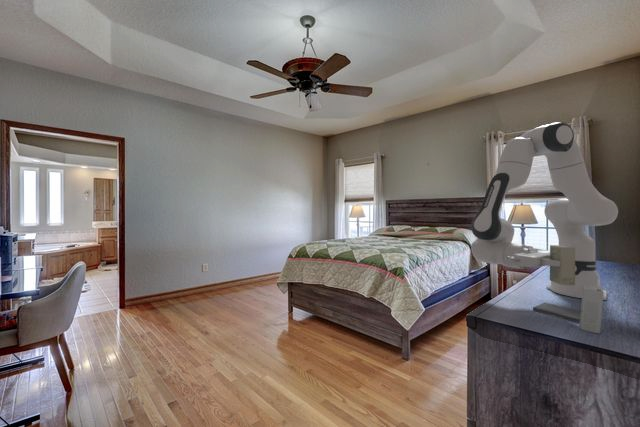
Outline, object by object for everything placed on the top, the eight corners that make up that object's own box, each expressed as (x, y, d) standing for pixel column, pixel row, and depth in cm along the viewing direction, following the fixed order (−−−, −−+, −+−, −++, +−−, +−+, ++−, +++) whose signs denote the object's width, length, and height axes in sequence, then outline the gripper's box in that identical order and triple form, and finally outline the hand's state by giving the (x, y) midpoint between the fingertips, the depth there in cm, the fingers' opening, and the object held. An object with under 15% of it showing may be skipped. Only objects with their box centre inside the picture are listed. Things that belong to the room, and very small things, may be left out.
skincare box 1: (575, 286, 93) (577, 247, 93) (559, 285, 94) (561, 247, 94) (562, 281, 99) (564, 245, 99) (548, 280, 100) (549, 244, 100)
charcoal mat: (544, 305, 105) (544, 302, 105) (588, 316, 95) (588, 313, 95) (532, 310, 99) (532, 307, 99) (578, 322, 89) (578, 319, 89)
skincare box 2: (579, 323, 88) (581, 283, 88) (600, 328, 85) (602, 286, 85) (580, 330, 83) (582, 287, 83) (602, 334, 81) (604, 290, 80)
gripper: (504, 249, 101) (553, 255, 90) (529, 245, 113) (576, 250, 101) (504, 267, 101) (553, 276, 90) (529, 262, 113) (575, 268, 101)
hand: (565, 262), depth 96 cm, fingers closed on skincare box 1, 7 cm apart
